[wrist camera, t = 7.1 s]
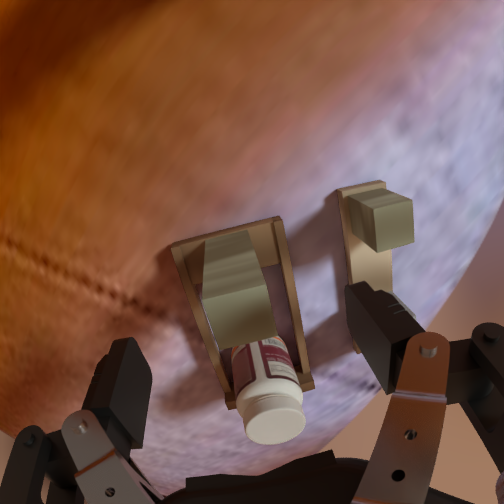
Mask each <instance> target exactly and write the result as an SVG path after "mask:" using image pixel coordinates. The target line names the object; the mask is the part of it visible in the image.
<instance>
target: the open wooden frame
mask: <svg viewBox="0 0 504 504" xmlns="http://www.w3.org/2000/svg"><path fill="white" fill-rule="evenodd" d="M171 252H172V255H173V258H174V261H175V264H176V267H177V269H178V272H179V275H180V278H181V281H182V284H183V287H184V290H185V292H186V295H187V298H188V301H189V304H190V306H191V309H192V312H193V315H194V317H195V320H196V323H197V325H198V328H199V331H200V333H201V336H202V338H203V341H204V344H205V346H206V349H207V351H208V354H209V356H210V359H211V361H212V364H213V366H214V369H215V371H216V374H217V376H218V379H219V381H220V383H221V386H222V388H223V391H224V393H225V403H226V406H227V408H228V410H232V409H236V408H237V407H236V399H235V390H234V382H230V380H229V377H228V375H227V372H226V369H225V367H224V364H223V362H222V359H221V356H220V354H219V351H218V348H217V345H216V343H215V340H214V337H213V334H212V332H211V329H210V326H209V323H208V320H207V318H206V315H205V312H204V309H203V306H202V303H201V300H200V297H199V295H198V292H197V289H196V286H195V285H196V284H200V283H203V288H202V302H203V305H204V308H205V311H206V314H207V316H208V319H209V322H210V325H211V328H212V331H213V333H214V336H215V339H216V342H217V344H218V347H219V350H223V349H227V348H232V347H236V346H240V345H244V344H248V343H253V342H257V341H261V340H265V339H268V338H272V337H276V336H278V333H277V329H276V324H275V320H274V316H273V311H272V307H271V303H270V299H269V294H268V290H267V286H266V282H265V279H264V276H263V274H262V271H261V268H263V267H267V266H271V265H275V264H279V263H280V265H281V270H282V275H283V280H284V284H285V289H286V294H287V299H288V304H289V309H290V314H291V319H292V325H293V330H294V335H295V340H296V345H297V350H298V356H299V361H300V365H299V366H295V367H294V370H295V373H296V376H297V379H298V382H299V384H300V387H301V389H302V392H306V391H309V390H313V389H315V385H314V380H313V378H312V375H311V373H310V367H309V361H308V355H307V349H306V343H305V337H304V332H303V326H302V320H301V314H300V309H299V303H298V298H297V292H296V287H295V281H294V276H293V271H292V266H291V260H290V255H289V250H288V245H287V240H286V235H285V230H284V225H283V220H282V219H281V218H280V216H275V217H271V218H267V219H263V220H259V221H255V222H251V223H247V224H243V225H239V226H235V227H231V228H227V229H223V230H219V231H216V232H212V233H208V234H204V235H200V236H196V237H193V238H189V239H185V240H181V241H177V242H174V243H172V246H171Z"/></svg>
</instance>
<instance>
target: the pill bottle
mask: <svg viewBox="0 0 504 504" xmlns="http://www.w3.org/2000/svg"><path fill="white" fill-rule="evenodd" d="M231 364H232V372H233V381H234V390H235V399H236V407H237V410H238V412H239V414H240V416H241V417H242V418H243V423H244V428H245V433H246V435H247V437H248V438H249V439H250V440H252V441H254V442H256V443H259V444H267V445H270V444H279V443H283V442H286V441H288V440H290V439H292V438H294V437H296V436H297V435H298V434H299V433H300V432H301V431H302V430H303V428H304V426H305V423H306V420H305V416H304V413H303V409H302V406H301V405H302V401H303V393H302V389H301V387H300V384H299V382H298V379H297V376H296V373H295V370H294V367H293V364H292V361H291V359H290V356H289V353H288V350H287V347H286V345H285V343H284V341H283V340H282V339H281V338H280V337H279V336H276V337H272V338H268V339H265V340H261V341H257V342H253V343H248V344H244V345H240V346H236V347H233V348H232V351H231Z"/></svg>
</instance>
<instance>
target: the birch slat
mask: <svg viewBox="0 0 504 504" xmlns="http://www.w3.org/2000/svg"><path fill="white" fill-rule="evenodd" d="M337 194H338V200H339V207H340V214H341V221H342V229H343V237H344V245H345V254H346V263H347V272H348V282H349V285H351V284H354V283H357V282H361V281H366V282H367V283H368V284H369V285H370V286H371V288H372V289H373V290H374V291H377V290H380V289H381V290H383V291H385V292H390V291H392V292H393V290H392V255H391V249H393V248H397V247H400V246H404V245H407V244H410V243H414V220H413V203H412V200H411V199H409V198H406V197H404V196H402V195H399V194H397V193H394V192H391V191H389V190H386V182H383V181H381V180H377V181H372V182H367V183H363V184H358V185H353V186H348V187H344V188H339V189H337ZM353 348H354V350H355V351H356V353H357V354H360V353H362V352H361V350H360V349H359V347H358V345H357V344H356V342H355V340H354V339H353Z"/></svg>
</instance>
